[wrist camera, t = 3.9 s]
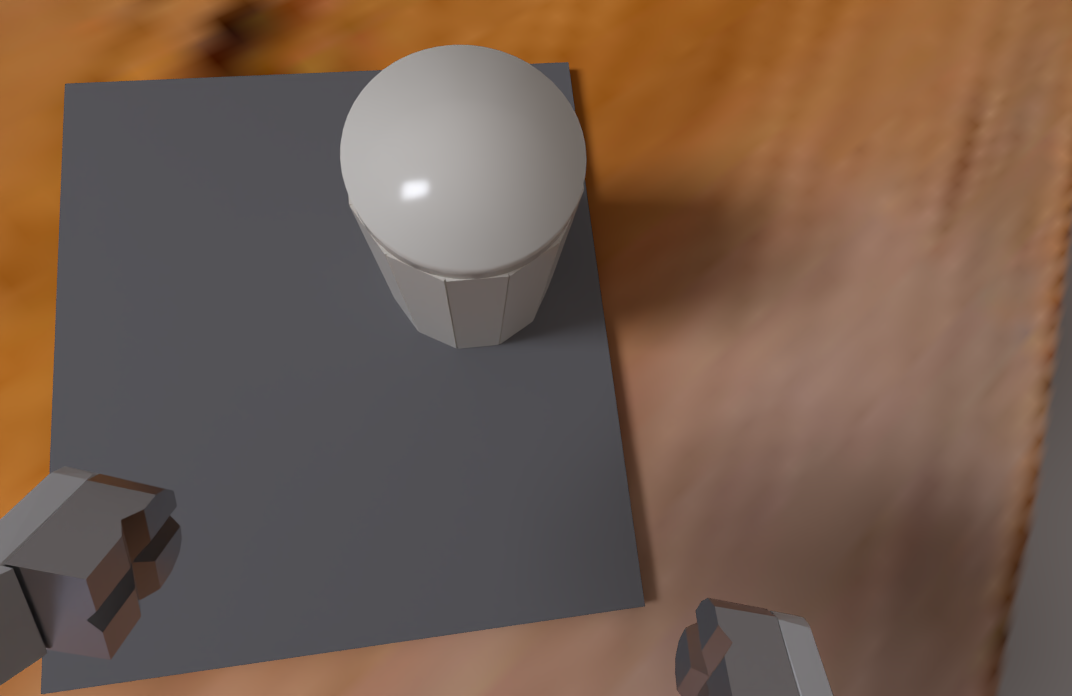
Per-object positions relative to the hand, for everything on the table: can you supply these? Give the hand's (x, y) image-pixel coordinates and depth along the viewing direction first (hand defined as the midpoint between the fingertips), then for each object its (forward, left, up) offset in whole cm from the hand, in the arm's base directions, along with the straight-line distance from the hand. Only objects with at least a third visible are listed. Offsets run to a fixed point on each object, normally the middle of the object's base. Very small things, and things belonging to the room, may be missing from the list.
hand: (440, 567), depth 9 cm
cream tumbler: (+9, -1, -13) cm, 16 cm away
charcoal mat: (+7, +4, -13) cm, 16 cm away
